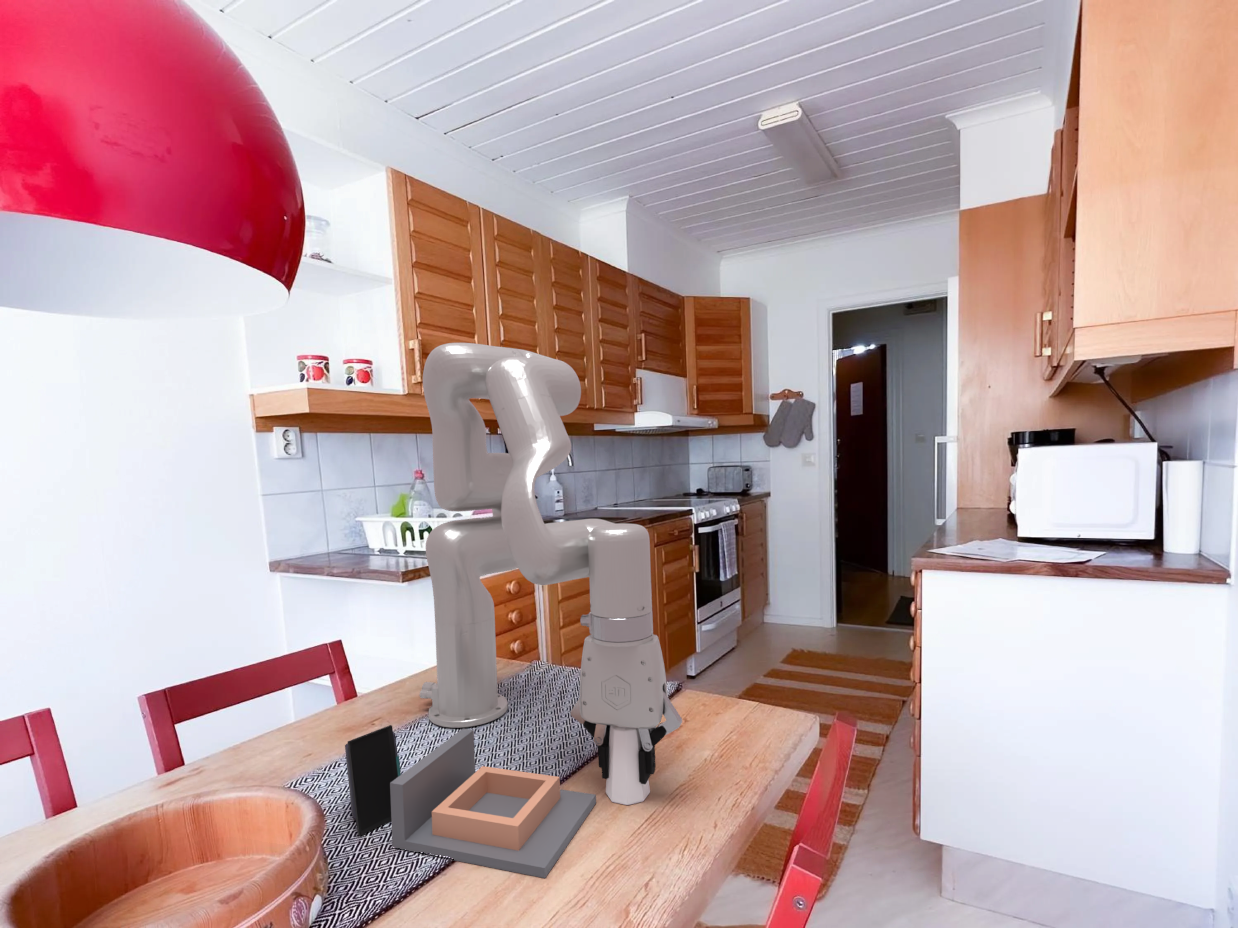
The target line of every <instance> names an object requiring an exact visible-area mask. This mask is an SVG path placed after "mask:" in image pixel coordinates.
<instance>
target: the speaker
mask: <svg viewBox="0 0 1238 928" xmlns="http://www.w3.org/2000/svg"><path fill="white" fill-rule="evenodd" d="M396 739H397V736H396V732H394V731H393V725H392V724H390V725H387V726H384V727H382V728H379V729H376V730H374V731H371V732H369V733H366V734H363V735H360V736H358V737H355V738H353V739H350V740H348V741H347V743H346V744H344V751H345V759H346V760H345V761H346V770H347V779H348V789H349V801H350V807H351V809H350V810H351V815H352V817H353V819H354V820H355V822H356V830H357V836H358V835H359V836H361V835H363V834H364V835H366V834H368V833H370V832H372V831H374V830H376V829H378V828H380V827H382V826H384V825H386V824H389V822H392V820H391V795H390V783H391V782H392V781H393V780H395V779H396V778H397V777H399V776H400V775H401V774H402V771H401V762H400V755H399V754H398V748H397V740H396ZM385 823H386V824H385ZM383 824H384V825H383ZM381 825H382V826H381ZM379 826H380V827H379ZM377 827H378V828H377ZM375 828H376V829H375ZM373 829H374V830H373ZM371 830H372V831H371ZM369 831H370V832H369ZM367 832H368V833H367ZM365 833H366V834H365ZM364 835H363V836H364ZM359 836H358V837H359ZM361 837H362V836H361Z"/></svg>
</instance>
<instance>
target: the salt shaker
mask: <svg viewBox="0 0 1238 928" xmlns="http://www.w3.org/2000/svg"><path fill="white" fill-rule="evenodd" d="M641 743H642V742H641V738H640V733H639V729H638V728H630V727H620V726H611V725H610V735H609V778H607V779H605V780H606V783H605V794H606V795H607V796H608V798H609V800H610V801H611V802H612V803H615V804H621V805H624V806H630V805H636V804H639V803H643V802H644V801H645V799H646V798H647V797H648V796H649V795H650V794H651V789H650V788H651V787H650V781H649V779H648V781H647V783H646V784H641V782H639V760H638V752H639V750H640V748H641Z"/></svg>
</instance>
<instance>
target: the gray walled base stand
mask: <svg viewBox="0 0 1238 928" xmlns="http://www.w3.org/2000/svg"><path fill="white" fill-rule="evenodd" d="M474 730H475V729H468V728H461V729H460V730H459V731H457V732H456V733H455V734H453V735H452V736H451V737H450V738H448V739H447V740H445V741H444V742H443V743H441V744H440V745H439V746H438V747H436V748H435V749H434V750H432V751H431V752H429V753H427V754H426V756H424V757H423V758H421V759H420V760H418V761H417V762H415V764H413V765H412V766H411V767H409V768H408V769H407V770H406V771H404V772H403V773H401V775H400V776H399V777H397V778H396V779H395V780H393V781H392V782H391V783H390V795H391V820H392V821H391V837H392V838H391V841H392V844H391V845H392V848H393V847H396V848H400V849H406V850H409V851H408V852H410V851H415V852H424V853H431V854H434V855H441V856H448V857H451V858H453V859H454V860H453V861H457V862H462V863H467V864H472V865H477V866H483V867H486V868H492V869H496V870H503V871H507V872H513V873H517V874H521V875H522V874H523V875H527V876H532V877H537V878H542V879H546V878H547V876H548V875H549V873H550V872H551V871H552V869H553V867H554V866H555V864H556V863H557V862H558V860H559V859H560V857H561V855H562V854H563V852H564V851H565V850H566V848H567V847H568V846H569V844H570V842H571V841H572V839H573V838H574V837H575V835H576V833H577V832H578V831H579V830H580V827H581V826H582V825H583V823H584V821H585V820H586V819H587V817H588V816H589V815H590V812H591V811H592V810H593V809H594V807H595V805H596V804H597V794H594V793H590V792H589V793H587V792H581V791H573V790H569V789H568V790H566V789H561V781H560V780H561V779H560V776H555V775H549V774H541V773H535V772H526V771H520V770H513V769H506V768H499V767H498V768H497V767H492V766H485V765H482V766H481V767H480V768H478V770H476V759H475V758H476V757H475V756H476V755H475V734H474V733H475V731H474ZM400 849H399V850H400ZM415 852H414V853H415Z"/></svg>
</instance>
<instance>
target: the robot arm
mask: <svg viewBox="0 0 1238 928" xmlns="http://www.w3.org/2000/svg"><path fill="white" fill-rule="evenodd" d="M422 388H423V389H422V390H423V395H424V401H425V403H426V406H427V407H426V408H427V411H428V414H429V418H430V424H431V429H432V431H431V432H432V462H433V463H432V464H433V465H432V467H433V468H432V469H433V489H434V497H435V500H436V502H437V505H438V506H439V507H440V508H441V509H443V510H445V511H449V512H455V513H456V512H471V511H485V510H491V511H492V516H489V517H487V516H486V517H476V518H475V517H474V518H468V519H467V518H465V519H456V520H450V521H447V522H443V523H441V524H438V525H437V526H436V527H434V528H433V529H432V530H431V531H430V533H429V534H428V536H427V538H426V542H425V557H426V562H427V565H428V570H429V575H430V579H431V585H432V593H433V595H432V596H433V607H434V625H435V626H434V627H435V629H434V631H435V632H434V633H435V650H436V651H435V654H436V655H435V656H436V676H437V677H436V680H437V683H436V682H433V681H432V682H431V681H425V682H423V684H422V686H421V690H420V691H419V698H421V699H426V700H427V699H428V700H429V699H431V702H432V705H431V706H430V707H429V709H428V719H429V721H430V722H431V723H433V724H434V725H436V726H439V727H443V728H452V729H453V728H454V729H455V728H461V729H462V728H469V727H470V728H471V727H475V726H481V725H484V724H487V723H490V722H493V721H495V720H497V719H498V718H500V717H502V716H503V715H504V714H505V713H507V710H508V709H509V707H508V704H509V703H508V700H507V698H506V697H505V696H503V695H502V694H499V692H498V675H497V674H498V672H497V670H498V669H497V643H496V619H495V614H496V613H495V603H494V600H493V596H492V595H491V593H490V591H488V589H487V587H485V585H484V584H483V582H482V580H481V577H483V576H487V575H492V574H497V573H504V572H509V571H512V570H513V571H514V570H516V569H518V570H519V572H520V573H521V574H522V576H523V577H524V578H525V579H526V580H527V581H528V582H531V583H532V584H534V585H539V586H547V585H548V586H549V585H553V584H559V583H563V582H564V583H565V582H570V581H573V580H579V579H580V580H581V579H587V578H589V602H590V603H589V604H590V605H589V608H590V611H589V612H588V613H587V614H582V615H581V616H580V622H579V623H580V625H581V626H584V627H585V626H586V628H589V635H587V636H585V638H584V642H583V647H582V654H581V655H582V656H581V663H580V675H579V698H578V699H577V701H576V702H575V704H574V706H573V707H572V709H571V710H570V716H571V717H572V718H573V719H575V720H576V722H578V723H579V724H581V725H583V727H584V729H585V730H586V732H588V733H589V734H590V737H592V738H593V742H594V744H595V745H596V746H597V757H598V759H597V762H598V767H599V768H601V778H602V779H603V780H604V779H605V780H607V778H609V735H610V725H611V726H620V727H630V728H638V729H639V733H640V738H641V742H642V743H641V748H640V750H639V752H638V760H639V782H641V784H646V783H647V781H648V780H649V779H650V777H651V776H652V775H654V774H655V772H656V745H658V743H659V742H660V741H662V739H664V738H665V736H667V735H669V734H671V733H672V732H675V730H677V729H679V728H680V727H681V725H682V723H683V719H682V717H681V716H680V714H679V712H678V711H677V709H676V708H675V706H674V705H673V703H672V702H671V700H670V698H669V697H668V687H667V676H666V668H665V663H664V662H665V661H664V656H663V652H662V648H661V644H660V640H659V636H658V635H657V634H654V622H653V619H654V618H653V600H652V599H653V598H652V597H653V595H652V594H653V593H652V573H651V572H652V570H651V543H650V534H649V532H648V530H647V528H646V527H644V526H643V525H641V524H637V523H615V522H613V521H612V522H611V521H608V520H606V519H601V518H585V519H576V520H566V521H557V522H548V523H545V522H544V520H543V517H542V514H541V512H540V509H539V507H538V502H537V499H536V494H535V488H536V487H535V485H536V480H537V479H538V478H539V477H541V476H543V475H545V474H547V473H549V472H550V471H552V470H553V469H555V468H557V467H558V466H560V465H561V464H562V463H563V462H564V461H565V460H566V459H567V458H568V457H569V455H570V453H571V451H572V443H571V442H572V441H571V439H570V436H569V435H568V433H567V430H566V427H565V425H564V421H562V418H561V417H563V416H567V415H570V414H571V413H574V411H575V410H576V409H577V408H578V406H579V404H580V401H581V396H582V387H581V382H580V379H579V377H578V375H577V373H576V371H575V370H574V368H573V367H572V366H571V365H569V364H568V363H567V362H565V361H562V360H561V359H556V358H552V357H551V356H550V357H549V356H546V355H543V354H539V353H536V352H533V351H530V350H526V349H519V348H512V347H504V346H494V345H489V344H488V345H487V344H482V343H473V342H449V343H447V342H446V343H444V344H441V345H438V346H436V347H434V349H432V350H431V351H430V353H429V354H428V355H427V358H426V360H425V362H424V367H423V374H422ZM470 399H482V400H483V399H485V400H489V403H490V405H491V407H492V410H493V414H494V415H495V419H496V420H497V421H496V422H497V424H498V426H499V429H500V432H501V436H502V438H503V440H504V442H505V445H506V449H507V451H508V453H507V452H488V448H487V429H486V425H485V421H484V419H483V417H482V416H481V414H480V411H478V410H477V408H476V407H475V405H474V404H473V403H472V401H470ZM663 717H664V718H665V720H664V722H663V721H662V718H663ZM661 721H662V722H661Z"/></svg>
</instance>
